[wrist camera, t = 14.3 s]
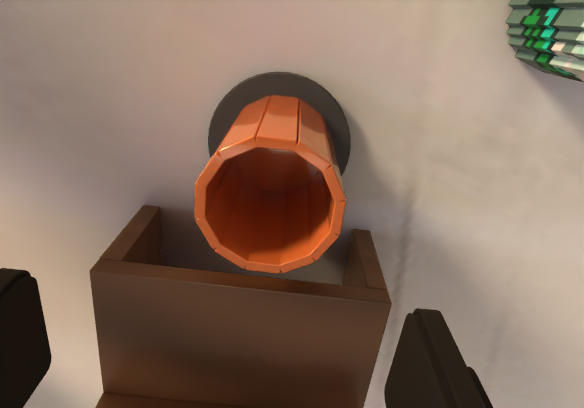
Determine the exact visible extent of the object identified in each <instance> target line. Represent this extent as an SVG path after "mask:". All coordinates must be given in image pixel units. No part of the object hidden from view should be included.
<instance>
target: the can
mask: <svg viewBox="0 0 584 408" xmlns="http://www.w3.org/2000/svg"><path fill="white" fill-rule="evenodd" d="M509 6H511V7H513V8H514V10H513V11H512V13H511V15H510V16H509V18H508V19H507V21H506V22H505V23H506V24H508V25H510V26H511V27H510V29H509V30H508V32H507V34H509V35H511V36H512V38H511V39H510V41H509V43H508V44H510V45H512V46H514V47H515V48H517V49H519V51H518V53H517V54H516V56H515V57H517V58H519V59H520V60H522V61H524V62H526V63H528V64H529V65H531V66H533V67H535V68H537V69H538V70H540V71H542V72H545V73H549V74H553V75H557V76H561V77H565V78H569V79H573V80H577V81H581V82H584V0H511V2H510V3H509Z"/></svg>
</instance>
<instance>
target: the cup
mask: <svg viewBox="0 0 584 408" xmlns="http://www.w3.org/2000/svg"><path fill="white" fill-rule="evenodd" d="M345 207H346V197H345V192H344V188H343V184H342V179H341V175H340V171H339V166H338V162H337V158H336V153H335V149H334V145H333V140H332V137H331V135H330V132H329V130H328V127H327V125H326V123H325V120H324V118H323V117H322V115H321V114H320V113H319V112H318V111H316V110H315V109H314V108H312V107H311V106H310V105H308V104H307V103H306V102H304V101H303V100H302V99H300V100H299V98H296V97H288V96H279V95H272V96H270V95H269V96H266V97H264V98H262V99H259V100H257V101H255V102H253V103H250V104H248V105H246V106H245V107H244V108H243V109H242V111H241V112H240V114H239V115H238V117H237V118H236V119H235V121H234V122H233V124H232V125H231V127H230V128H229V130H228V131H227V133H226V135H225V136H224V138H223V139H222V141H221V142H220V144H219V146H218V147H217V149H216V150H215V152H214V153H213V155H212V157H211V158H210V160H209V161H208V163H207V165H206V166H205V168H204V169H203V171H202V172H201V174H200V176H199V177H198V179H197V180H196V184H195V210H194V217H195V218H196V223H197V224H198V226H199V228H200V229H201V231H202V233H203V234H204V236H205V238H206V239H207V241H208V243H209V245H210V246H211V248H212V249H215V250H214V251H215V252H216V253H218V254H220V255H221V256H223V257H225V258H226V259H228V260H229V261H231V262H233V263H234V264H236V265H238V266H239V267H241V268H242V269H244V268H245V267H246V270H251V271H260V272H269V273H278V274H280V272H281V271H282V273H285V272H288V271H291V270H294V269H297V268H300V267H302V266H305V265H308V264H311V263H314V260H316V261H317V260H318V259H319V258H320V257H321V256H322V255H323V253H324V252H325V251H326V250H327V249H328V248H329V247H330V246H331V245H332V244H333V243H334V241H335V240H336V239H337V238H338V237H339V235H338V234H340V233H341V228H342V222H343V217H344V212H345Z"/></svg>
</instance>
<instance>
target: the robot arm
mask: <svg viewBox="0 0 584 408" xmlns="http://www.w3.org/2000/svg"><path fill="white" fill-rule="evenodd" d="M50 364H51V352H50V347H49V341H48V336H47V331H46V326H45V321H44V315H43V310H42V305H41V300H40V295H39V290H38V284H37V281H36V279H35V278H34V277H31V275H30V273H29V272H28V271H25V270H16V269H6V268H2V269H0V408H23V407H24V405H25V404H26V402H27V401H28V399H29V398H30V396H31V395H32V393H33V392H34V390H35V389H36V387H37V386H38V384H39V383H40V382H41V380H42V379H43V377H44V376H45V374H46V373H47V371H48V369H49V367H50ZM384 395H385V403H386V407H387V408H493V406H492V404H491V402H490V400H489V398H488V396H487V394H486V392H485V390H484V388H483V386H482V384H481V382H480V380H479V378H478V376H477V374H476V373H475V371H474V370H473V369H472V368H471V367H467V366H466V364H465V362H464V360H463V358H462V355H461V353H460V351H459V349H458V347H457V345H456V343H455V341H454V339H453V337H452V334H451V332H450V330H449V328H448V326H447V324H446V322H445V320H444V318H443V316H442V314H441V312H440V311H438V310H430V309H419V308H417V309H415V310H414V312H413V314H411V313H409V314H407V316H406V319H405V322H404V325H403V329H402V332H401V335H400V338H399V342H398V345H397V348H396V352H395V355H394V358H393V362H392V365H391V368H390V371H389V375H388V378H387V381H386V385H385V392H384Z"/></svg>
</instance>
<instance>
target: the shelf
mask: <svg viewBox="0 0 584 408" xmlns="http://www.w3.org/2000/svg"><path fill="white" fill-rule="evenodd" d="M90 279H91V288H92V296H93V305H94V314H95V322H96V331H97V339H98V348H99V357H100V365H101V374H102V383H103V391H104V393H103V394H102V396H101V398H100V400H99V402H98V404H97V406H96V407H95V408H363V406H364V403H365V399H366V395H367V392H368V388H369V384H370V381H371V377H372V374H373V370H374V366H375V363H376V359H377V355H378V352H379V348H380V344H381V341H382V337H383V334H384V330H385V326H386V323H387V319H388V315H389V312H390V308H391V304H392V303H391V300H390V297H389V293H388V291H387V287H386V284H385V280H384V277H383V274H382V271H381V267H380V264H379V261H378V257H377V254H376V251H375V248H374V244H373V241H372V238H371V234H370V232H369V231H363V230H355V229H354V230H353V234H352V238H351V243H350V248H349V253H348V258H347V263H346V268H345V273H344V277H343V282H342V285H333V284H324V283H315V282H306V281H297V280H288V279H278V278H269V277H260V276H251V275H242V274H233V273H224V272H215V271H206V270H196V269H187V268H178V267H169V266H162V258H161V218H160V207H154V206H146V205H143V206H142V207H141V209H140V210H139V211H138V212H137V214H136V215H135V216H134V217H133V218H132V220H131V221H130V222H129V223H128V224H127V226H126V227H125V228H124V229H123V230H122V232H121V233H120V234H119V235H118V236H117V238H116V239H115V240H114V241H113V243H112V244H111V245H110V246H109V247H108V249H107V250H106V251H105V252H104V253H103V255H102V256H101V257H100V259H99V260H98V261H97V262H96V264H95V265H94V266H93V267H92V268H91V270H90Z"/></svg>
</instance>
